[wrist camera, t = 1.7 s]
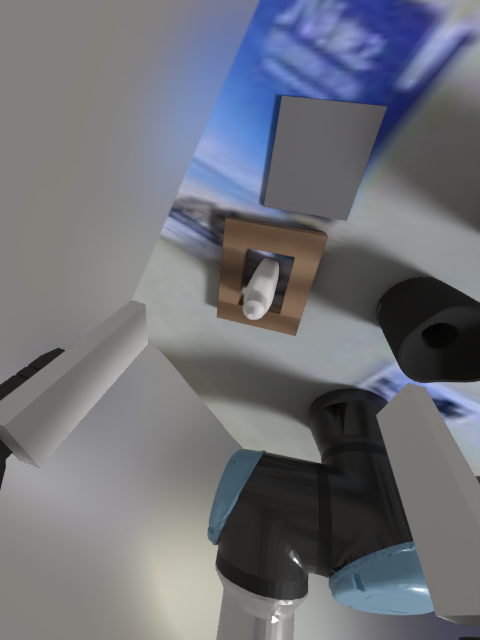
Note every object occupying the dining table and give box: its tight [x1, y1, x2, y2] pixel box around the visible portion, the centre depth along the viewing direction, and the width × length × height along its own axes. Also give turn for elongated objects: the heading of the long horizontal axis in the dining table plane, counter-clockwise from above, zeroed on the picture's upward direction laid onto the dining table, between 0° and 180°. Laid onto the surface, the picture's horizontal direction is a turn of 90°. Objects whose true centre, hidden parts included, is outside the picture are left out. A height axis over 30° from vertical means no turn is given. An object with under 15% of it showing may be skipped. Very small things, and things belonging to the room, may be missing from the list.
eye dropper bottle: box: [243, 258, 279, 320], centre depth 28 cm, size 4×6×12 cm
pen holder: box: [377, 278, 480, 383], centre depth 26 cm, size 9×9×10 cm
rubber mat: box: [264, 96, 387, 221], centre depth 25 cm, size 10×10×1 cm
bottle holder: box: [217, 216, 328, 336], centre depth 32 cm, size 14×12×2 cm
